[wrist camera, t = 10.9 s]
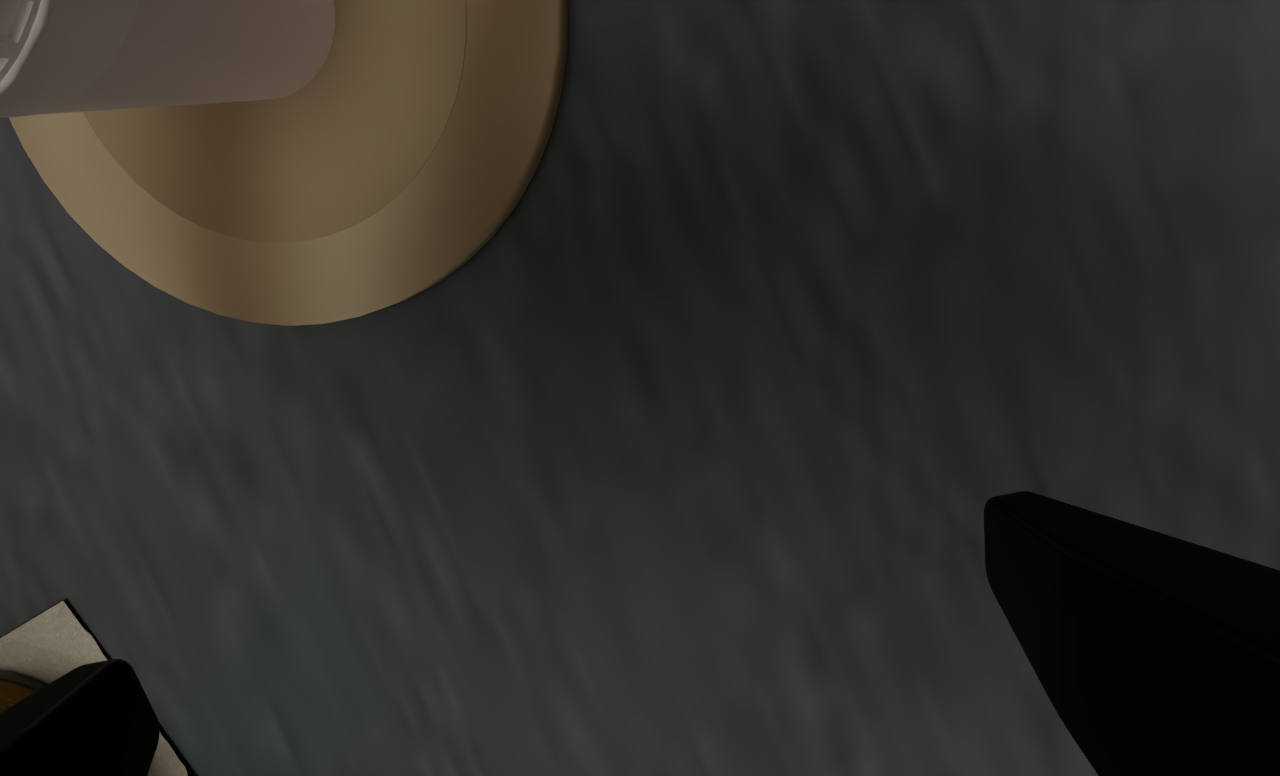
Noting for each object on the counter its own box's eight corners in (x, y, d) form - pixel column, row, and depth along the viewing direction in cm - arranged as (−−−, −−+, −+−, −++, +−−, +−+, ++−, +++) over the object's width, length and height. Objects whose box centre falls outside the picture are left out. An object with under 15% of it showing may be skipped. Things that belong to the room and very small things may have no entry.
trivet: (598, -315, 17) (586, -346, 16) (542, 355, 20) (530, 364, 19) (-16, -344, 18) (-62, -375, 17) (35, 280, 22) (0, 285, 21)
